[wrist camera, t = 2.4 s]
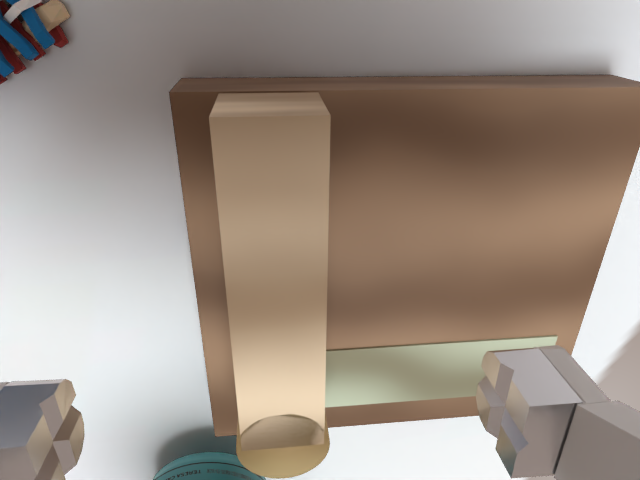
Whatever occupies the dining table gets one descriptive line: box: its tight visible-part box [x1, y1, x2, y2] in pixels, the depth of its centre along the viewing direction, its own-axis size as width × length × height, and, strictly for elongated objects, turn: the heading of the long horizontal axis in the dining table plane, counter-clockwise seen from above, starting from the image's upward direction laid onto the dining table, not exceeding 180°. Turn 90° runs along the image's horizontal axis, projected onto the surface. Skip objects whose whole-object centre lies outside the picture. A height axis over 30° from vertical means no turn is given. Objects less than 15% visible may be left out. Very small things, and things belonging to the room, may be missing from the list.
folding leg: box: [209, 92, 331, 478], centre depth 16 cm, size 14×3×3 cm, turn 179°
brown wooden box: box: [169, 75, 640, 437], centre depth 19 cm, size 15×16×6 cm
